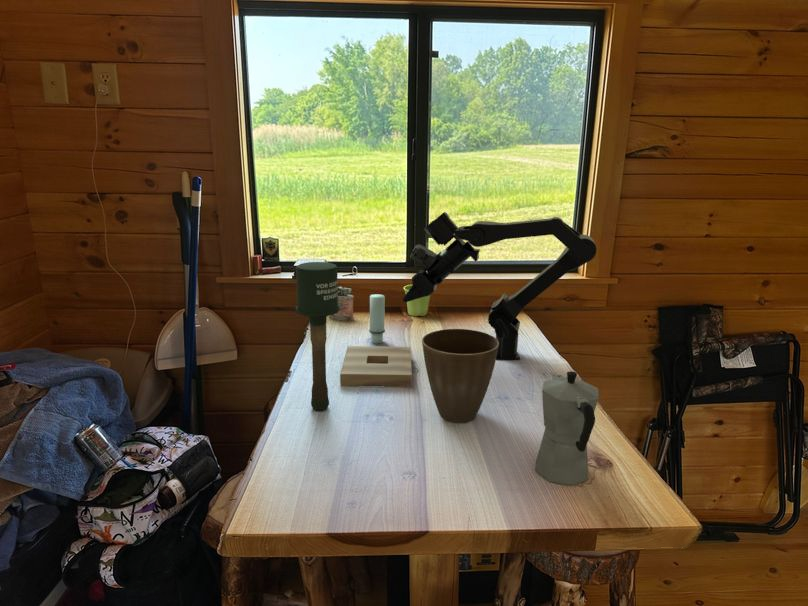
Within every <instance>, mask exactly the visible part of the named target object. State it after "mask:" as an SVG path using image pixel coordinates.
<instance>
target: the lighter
mask: <svg viewBox="0 0 808 606" xmlns="http://www.w3.org/2000/svg"><path fill="white" fill-rule="evenodd" d="M351 293H352V288H351V287H350V288H349V287H348V288H347V287H343V286H338V305H339V307H340V311H339V312H338V313H336V314H333V315H329V316H328V319H331V320H338V321H350V322H351V321H353V320H354V318H355V316H354V298H355V297H354V295H352V294H351Z"/></svg>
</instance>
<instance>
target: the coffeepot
mask: <svg viewBox="0 0 808 606" xmlns="http://www.w3.org/2000/svg"><path fill="white" fill-rule="evenodd" d="M577 376H578V372H576V371H572V370H571V371H567V372H566V376H565V375H559V374H558V375H556V376H555V375H551V379H547V380H543V382H542V383H543V384H542V388H541V394H542V395H541V397H542V410H543V411H542V414H543V415H542V416H543V425H544V431H543V436H542V439H541V442H540V444H539V445H540V446H539V449H538V453H537V457H536V460H535V468H534V471H535V472H536V473H538V475H539V476H540V477H541V478H543V479H544V480H546V481H549V482H550V483H553V484H557V485H562V486H574V485H575V486H577V485H580V484H583V483H584V482H586V481H588V480H589V463H588V462H589V461H588V446H587V445H588V443H589V440H590V438H591V434H592V432H593V429H594V426H595V424H596V415H595V410H596V408H597V405H598V402H599V398H600V397H599V396H600V395H599V388H598V387H596V386H594V385H591V384H590V383H588V382H586V381H583V380H580V379H576V378H577Z"/></svg>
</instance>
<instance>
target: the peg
mask: <svg viewBox="0 0 808 606" xmlns="http://www.w3.org/2000/svg"><path fill="white" fill-rule="evenodd" d="M385 298H386V297H385V295H384V294H378V293H376V294H370V296H369V330H368V331H369V333H370V335H371V336H370V340H371V341H370V342H371V343H372V344H376V345H378V344H382V343H384V333H385V331H386V329H385V316H386V315H385V309H386V308H385V306H386V305H385V302H386V300H385Z"/></svg>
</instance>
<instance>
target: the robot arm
mask: <svg viewBox="0 0 808 606" xmlns="http://www.w3.org/2000/svg"><path fill="white" fill-rule="evenodd" d="M424 231H425V232H426V233H427V234H428V235H429V236H430V237H431V238H432V240H433V241H434V242H435V243H436V244H437V245H438V246H440V245H441V246H442V245H443V246H444V247H445V246H446V245H448V243H449V242H450V241H452V239H455V240H453V241H452V242H451V243H450V244H449V245H448V246H447V247H446V248H445V249H443V250H442V251H439V252H438V253H436V252H435V251H433V250H431V249H429V248H427V247H425V246H424V245H422V244H419V243H418V244H416V245H415V246H414V248H413V249H412V251H411V254H410V256H409V257H410V259H412V260H413V261H414V260H415V261H417V262H419V263H420V264H423V265H424V266H423V268H422V269H420V270H419V271H417V272H416V274H414V275H413V276H412V277H411V282H412V284H411V285H412V287H411V288H410V290H409V291H408V292H407V294H405V296H403V298H402V301H403V302H404V303H407V302H408V301H412V300H415V299H418V298H422V297H425V296H429V295H430V294H431V295H432V294H433V293H434V292H436V290H437V285H440V284H441V283H442V282H443V281H444V280H445V279H446V278H447V277H449V276H450V275H451V274H453V273H454V272H455V271H456V270H457V269H458V268H459V267H460V266H461V265H462V264H464V263H465V262H466V261H467V260H468V259H470V258H471V259H472V260H473V261H474V262H478V260H479V259H480V251H481V250H480V248H481V247H484V246H487V245H488V246H489V245H492V244H494V243H497V242H500V241H505V240H511V239H522V238H531V237H533V238H534V237H542V236H543V237H545V236H553V237H555V238H556V239H557V240H558V241H559V242H560V243H562V245H564V247H565V248H564V250H563V251H562V252H561V254H560V255H559V256H558V257H557V258H556V260H554V261H553V262H552V263H551V264H549V265H548V266H547V267H546V268H545V269H543V270H542V271H541V272H540V273H539V274H538V275H536V276H535V277H534V278H532V279H531V280H530V281H528V283H526V284H525V285H524V286H523V287H521V288H520V289H519V290H518V291H517V292H515V293H514V294H512V295H510V296H508V295H507V294H506V292H505V293H503V294H502V295H501V297H500V298H499V299H497V300H495V301H493V303H492V305H491V308H490V311H489V314H488V316H487V317H488V318H487V319H488V324H489V325H490V327H491V328H493V329H494V332H495V338H496V339H497V340H498V342H499V346H498V351H497V356H496V360H520V359H521V356H520V354H519V352H518V345H519V344H518V343H519V330H520V324H521V321H520V320H519V319H518V318H517V317H518V316H519V315H520V314H521V312H522V310H523V309H524V308H525V307H526V306H528V305H529V304H531V302H533V300H535V299H536V298H537V297H538V296H540V295H541V294H542V293H543V292H545V291H546V290H547V289H548V288H550V287H551V286H552V285H553V284H555V283H556V282H557V281H558V280H559V279H561V278H562V277H563V276H564V275H566V274H567V273H569V272H570V271H572V270H573V271H574V270H576V269H578V268H579V267H582V266H583V265H586V263H589V262H590V261H592V260H593V259H594V258H595V256H596V255H597V246H596V243H595V240H594V239H593V237H592V236H590V235H587V234H581V233H580V232H578V231H577V230H576V229H574V228H573V227H571V225H569V224H567V223H566V222H565V221H564V220H563V219H562V218H560V217H559V216H553V217H550V218H540V219H532V220H523V221H522V220H521V221H515V222H514V221H513V222H497V221H489V220H488V221H487V220H479V221H475V222H474V223H472V225H461V226H459V227H458V225H457V224H456V223H455V222H454V221H453V220H452V219H451V217H450V215H449V214H448V213H447V212H446V211H444V212H442V213H441V214H440V215H438V217H436V218H435V219H433V220H432V221H431V222H429V224H427V226H426V227H424ZM474 247H475V248H474ZM431 295H430V296H431Z"/></svg>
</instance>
